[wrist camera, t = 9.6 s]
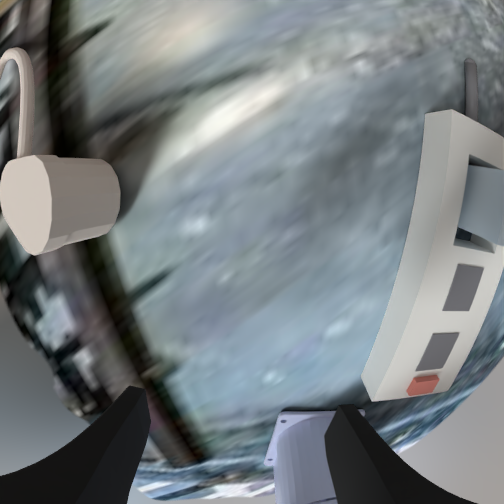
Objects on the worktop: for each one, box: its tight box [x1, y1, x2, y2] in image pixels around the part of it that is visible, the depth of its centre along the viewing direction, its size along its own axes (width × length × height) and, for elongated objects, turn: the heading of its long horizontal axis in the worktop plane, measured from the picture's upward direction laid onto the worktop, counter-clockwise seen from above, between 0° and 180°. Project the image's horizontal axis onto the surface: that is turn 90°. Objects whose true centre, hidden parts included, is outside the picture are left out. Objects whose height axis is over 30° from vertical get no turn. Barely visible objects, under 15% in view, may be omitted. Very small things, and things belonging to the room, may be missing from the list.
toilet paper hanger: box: [0, 47, 121, 255], centre depth 15 cm, size 20×5×16 cm
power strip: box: [361, 59, 504, 402], centre depth 15 cm, size 26×8×4 cm, turn 173°
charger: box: [458, 165, 504, 246], centre depth 13 cm, size 4×3×6 cm
